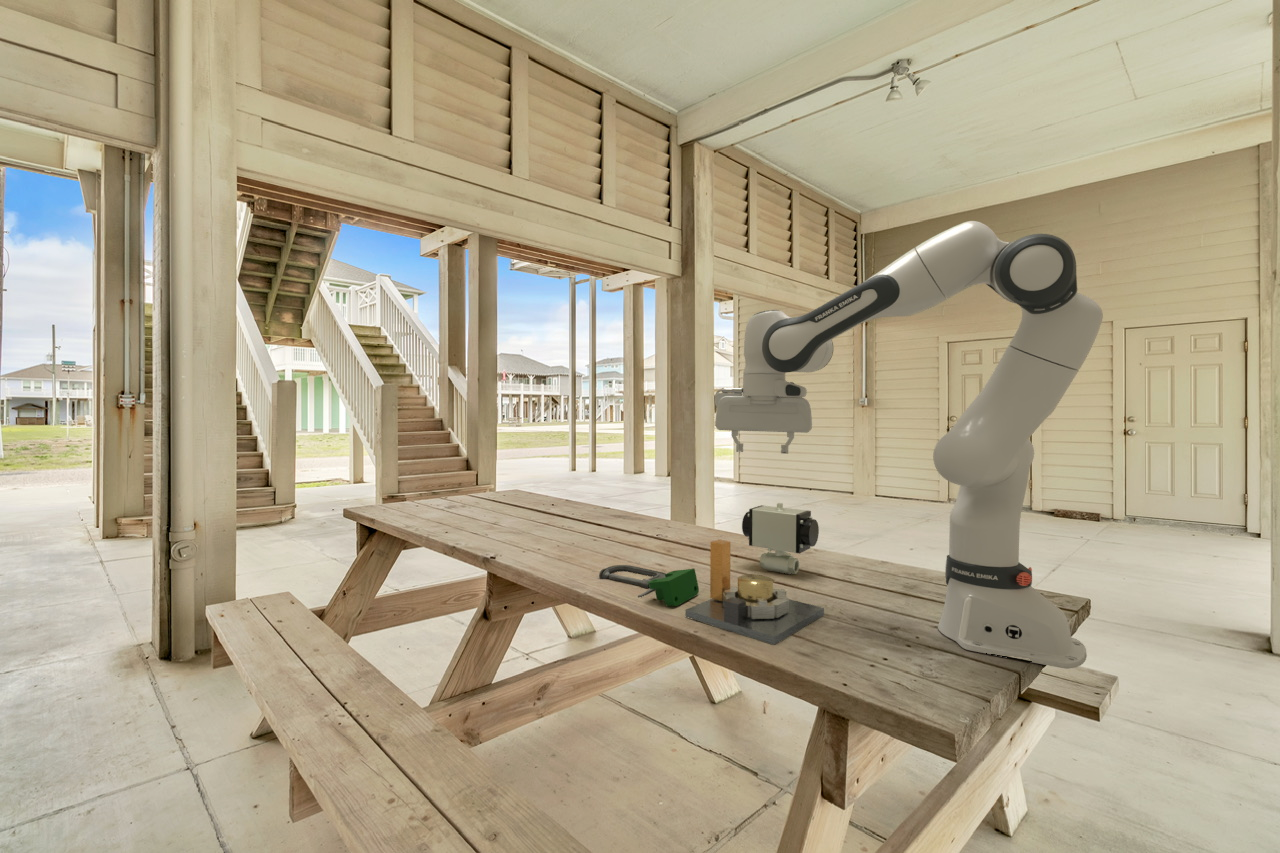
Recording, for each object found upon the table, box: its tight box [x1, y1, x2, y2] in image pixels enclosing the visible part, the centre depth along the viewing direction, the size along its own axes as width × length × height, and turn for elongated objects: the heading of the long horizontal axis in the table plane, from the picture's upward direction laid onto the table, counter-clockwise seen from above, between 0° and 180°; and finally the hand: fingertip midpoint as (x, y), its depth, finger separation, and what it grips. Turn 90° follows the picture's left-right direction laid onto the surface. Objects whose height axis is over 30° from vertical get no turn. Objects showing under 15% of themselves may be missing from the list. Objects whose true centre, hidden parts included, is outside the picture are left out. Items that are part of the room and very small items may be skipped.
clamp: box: [648, 568, 700, 607], centre depth 127 cm, size 12×6×9 cm, turn 140°
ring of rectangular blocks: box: [709, 539, 790, 619], centre depth 117 cm, size 16×12×12 cm
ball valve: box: [741, 502, 820, 575], centre depth 148 cm, size 18×8×18 cm, turn 52°
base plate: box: [684, 573, 825, 646], centre depth 116 cm, size 20×20×8 cm
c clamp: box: [598, 564, 667, 598], centre depth 141 cm, size 20×17×3 cm
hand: (761, 452), depth 124 cm, fingers open, 8 cm apart
